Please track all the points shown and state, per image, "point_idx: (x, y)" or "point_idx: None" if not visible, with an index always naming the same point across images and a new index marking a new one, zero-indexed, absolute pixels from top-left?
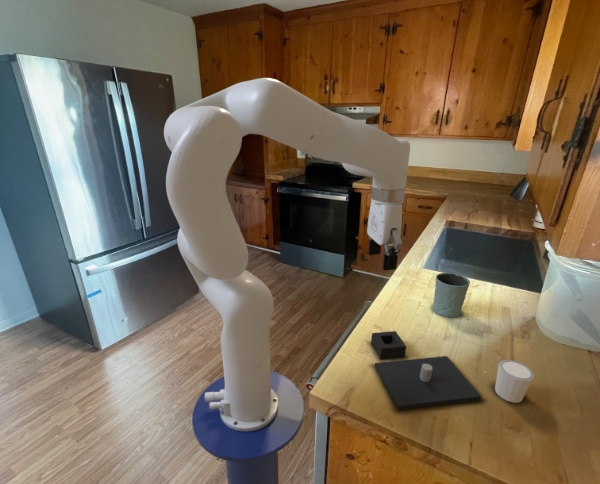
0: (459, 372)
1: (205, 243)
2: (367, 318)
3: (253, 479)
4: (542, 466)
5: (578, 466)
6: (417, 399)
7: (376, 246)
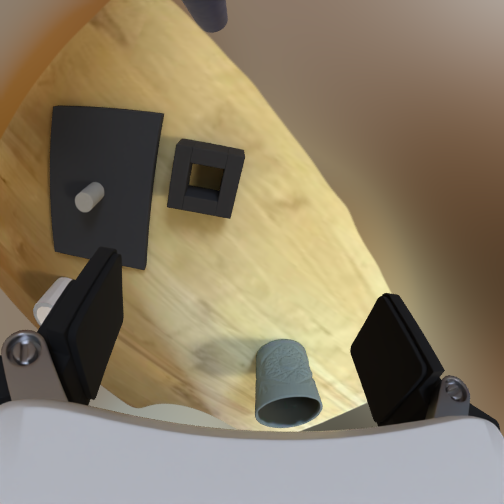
0: None
1: None
2: (337, 202)
3: None
4: None
5: None
6: (57, 147)
7: (380, 372)
